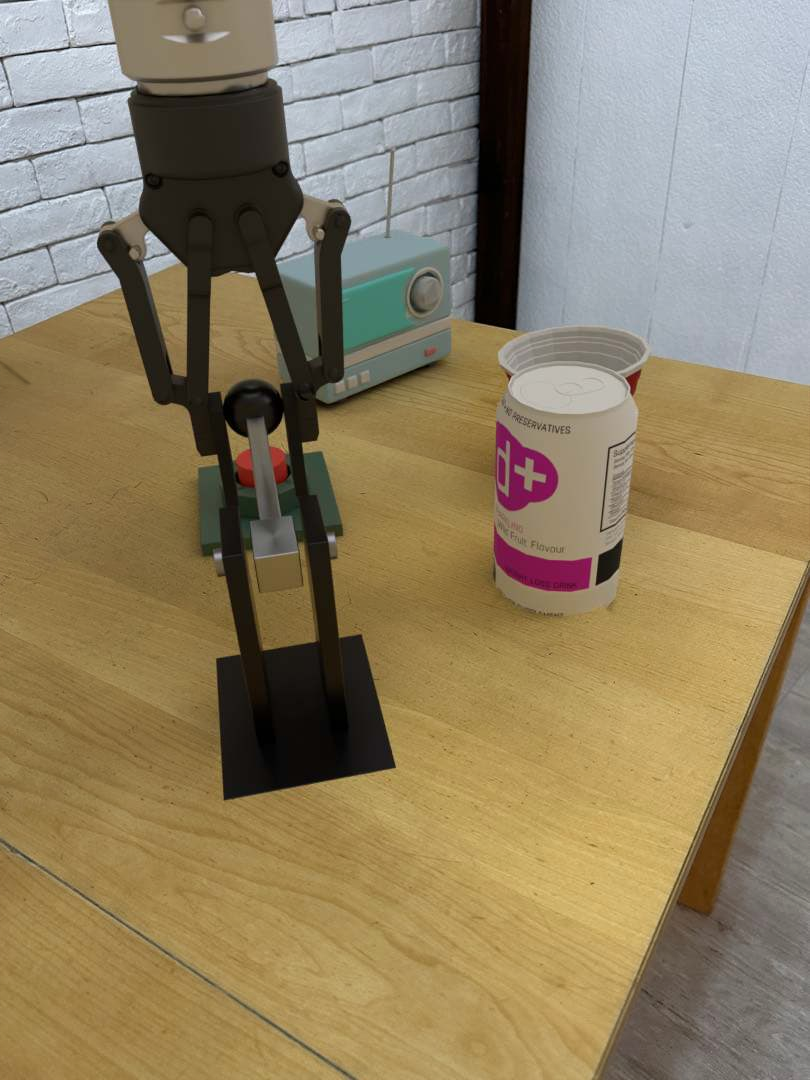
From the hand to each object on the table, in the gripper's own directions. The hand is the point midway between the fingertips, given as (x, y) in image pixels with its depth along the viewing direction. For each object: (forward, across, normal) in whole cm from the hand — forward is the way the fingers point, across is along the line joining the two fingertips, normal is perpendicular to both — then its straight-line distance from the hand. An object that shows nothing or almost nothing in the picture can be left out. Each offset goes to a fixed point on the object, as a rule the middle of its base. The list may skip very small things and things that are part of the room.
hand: (265, 489), depth 57 cm
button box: (+8, 0, +9) cm, 12 cm away
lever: (-3, 0, -6) cm, 6 cm away
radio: (+8, +12, +32) cm, 36 cm away
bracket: (+8, 0, -13) cm, 15 cm away
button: (+4, 0, +9) cm, 10 cm away
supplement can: (+8, +18, -5) cm, 20 cm away
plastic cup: (+8, +23, +7) cm, 26 cm away
